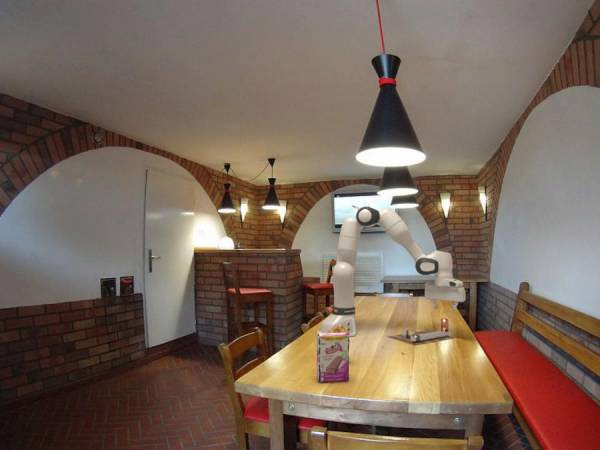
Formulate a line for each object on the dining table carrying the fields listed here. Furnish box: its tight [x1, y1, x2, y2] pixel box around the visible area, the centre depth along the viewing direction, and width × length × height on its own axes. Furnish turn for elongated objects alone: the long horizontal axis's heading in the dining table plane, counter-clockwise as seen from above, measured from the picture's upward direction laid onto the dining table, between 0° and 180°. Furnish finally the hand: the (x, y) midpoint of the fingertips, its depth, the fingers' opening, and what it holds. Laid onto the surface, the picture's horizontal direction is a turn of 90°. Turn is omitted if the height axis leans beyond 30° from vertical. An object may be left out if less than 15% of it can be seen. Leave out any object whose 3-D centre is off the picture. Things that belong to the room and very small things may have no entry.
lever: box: [410, 317, 451, 342], centre depth 183 cm, size 24×4×8 cm, turn 119°
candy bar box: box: [316, 332, 350, 384], centre depth 134 cm, size 11×5×16 cm, turn 98°
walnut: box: [408, 329, 418, 340], centre depth 185 cm, size 4×4×4 cm
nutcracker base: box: [387, 328, 457, 347], centre depth 188 cm, size 29×19×6 cm, turn 119°
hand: (444, 309), depth 188 cm, fingers open, 8 cm apart
